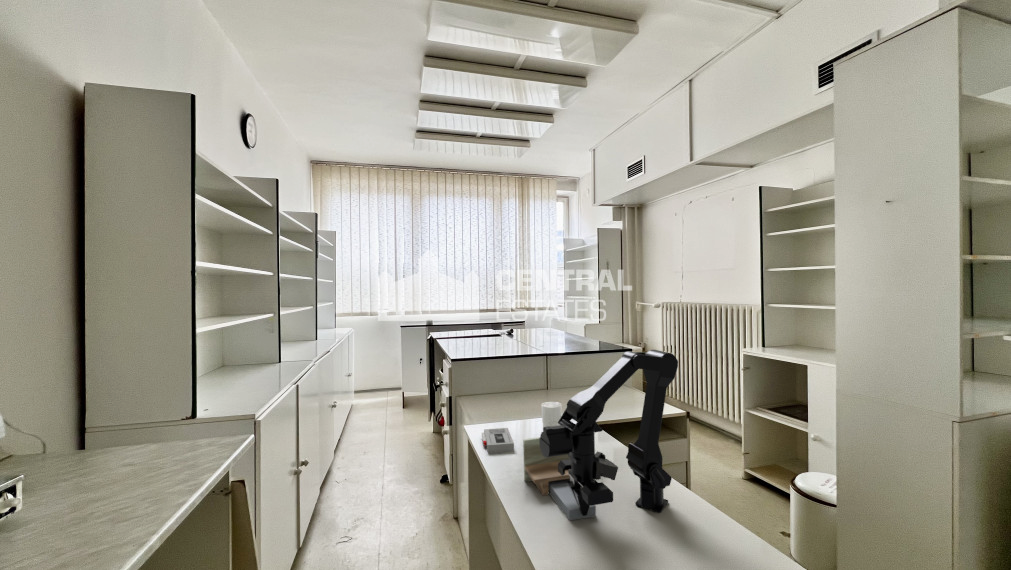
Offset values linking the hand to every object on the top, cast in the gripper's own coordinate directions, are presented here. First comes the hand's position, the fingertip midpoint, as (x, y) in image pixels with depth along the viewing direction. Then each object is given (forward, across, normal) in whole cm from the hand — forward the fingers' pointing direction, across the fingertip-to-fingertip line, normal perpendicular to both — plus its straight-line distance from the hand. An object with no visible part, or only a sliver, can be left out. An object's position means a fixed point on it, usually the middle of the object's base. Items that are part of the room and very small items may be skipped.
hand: (584, 515), depth 103 cm
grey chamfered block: (+1, +9, 0) cm, 9 cm away
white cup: (+1, +60, -15) cm, 62 cm away
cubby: (+1, +18, 0) cm, 18 cm away
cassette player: (0, +53, +3) cm, 53 cm away
